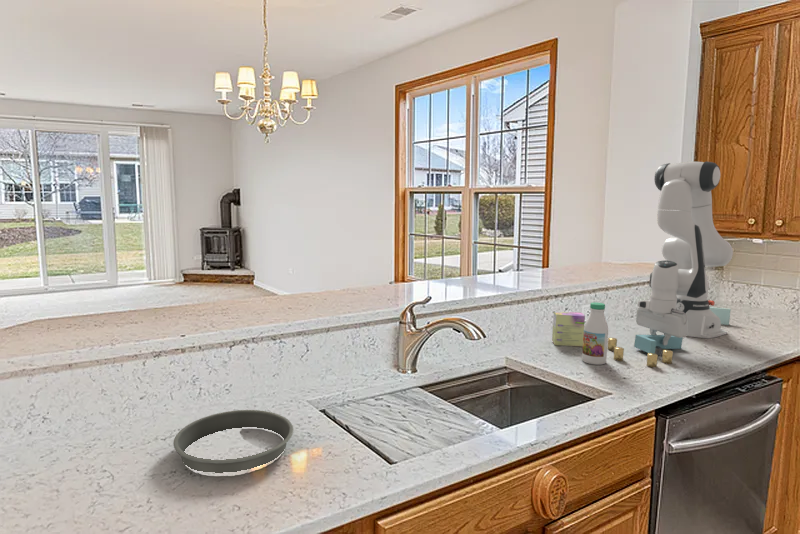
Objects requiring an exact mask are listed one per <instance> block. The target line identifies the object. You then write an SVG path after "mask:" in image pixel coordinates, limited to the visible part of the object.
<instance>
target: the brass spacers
mask: <svg viewBox="0 0 800 534" xmlns="http://www.w3.org/2000/svg"><path fill="white" fill-rule="evenodd" d="M617 343H618V338H617V337H608V344H607V351H612V352H613V360H614V361H617V362H623V361H624V352H625V348H623V347H622V346H617V345H618V344H617ZM673 352H674V351H673V350H671V349H662V354H661V355H662V356H661V358H662V359H661V363H663V364H666V363H667V364H668V365H669V364H670V365H671V363H672V364H673V355H674V353H673ZM658 357H659V356H658V355H657V354H655V353H647V357H646V366H647V367H648V368H653V367H655V368H658V366H657V365H658ZM667 364H666V365H667ZM653 369H654V368H653Z"/></svg>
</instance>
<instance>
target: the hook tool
mask: <svg viewBox="0 0 800 534" xmlns="http://www.w3.org/2000/svg"><path fill="white" fill-rule="evenodd" d="M664 337H665V336H664V334H657V335H651V334H635V337H634V338H635V339H634V345H633V347H634V348H636V349H639V350H641V351H643V352H646V353H647V354H648V353H655V348H656V346H659V347H661V348H662V350H671V349H672V350H676V349H677V350H678V349H679V350H680V349H682V344H683V338H684V337H682V338H678V337H675V336H672V335H671V337H670V339H669V340H668V344H667V345H662V344H661V340H663V339H664Z"/></svg>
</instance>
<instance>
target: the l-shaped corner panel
mask: <svg viewBox="0 0 800 534" xmlns="http://www.w3.org/2000/svg"><path fill="white" fill-rule="evenodd" d="M710 310H711V311H712V312H713V313H714V314H715V315H716V316H718V317H719V318H720V321H721V325H726V326H729V325H730V319H731V310H732V309H731V308H725V307H715V306H714V307H713V306H710Z"/></svg>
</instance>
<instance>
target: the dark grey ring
mask: <svg viewBox="0 0 800 534" xmlns="http://www.w3.org/2000/svg"><path fill="white" fill-rule="evenodd" d="M242 427H257V428H264V429H268V430H272V431H274V432H276V433H278V434H280V435H281V436H282V437H283V438H284V441H282V440H281V441H280V443H278V444H277V445H276V446H274V447H272V448H270V449H267V451H265V452H262V453H259V454H256V455H252V456H248V457H243V458H237V459H226V460H211V459H203V458H197V457H194V456H191V455H188V454H186V453H185V452H184V451H185V449H186V448H187V447H188V446H189V445H191V444H192V443H193V442H195V441H197V440H198V439H200V438H202V437H204V436H207V435H209V434H213V433H215V432H218V431H223V430H226V429H232V428H242ZM293 434H294V426H293V424H292V422H291V421H290V420H289V419H288V418H286V417H285V416H283V415H281V414H278V413H275V412H271V411H267V410H259V409H237V410H230V411H229V410H228V411H224V412H219V413H215V414H211V415H210V414H209V415H207V416H204V417H201V418H199V419H197V420H195V421H194V420H193V421H192V422H191V423H188V424H187V425H186V426H184V427H183V428H181V429H180V431H178V432H177V433H176V435H175V437H174V439H173V448H174V450H175V451H176V453H178V455H180V457H181V460H182V463H183V462H184V464H185V465H187V466H188V467H190V468H191V469H194V470H197V471H203V472H215V473H223V472H237V471H241V470H247V469H251V468H254V467H257V466H260V465H263V464H266V463H268V462H270V461H272V460H274V459H275V458H277V457H278V456H279V455H280V454H281V453H282V452H283V451H284V449H285V450H286V448H287V445H288V442H289V441H290V439H291V438H292V436H293ZM284 452H285V451H284ZM184 464H183V465H184ZM185 465H184V466H185Z"/></svg>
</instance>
